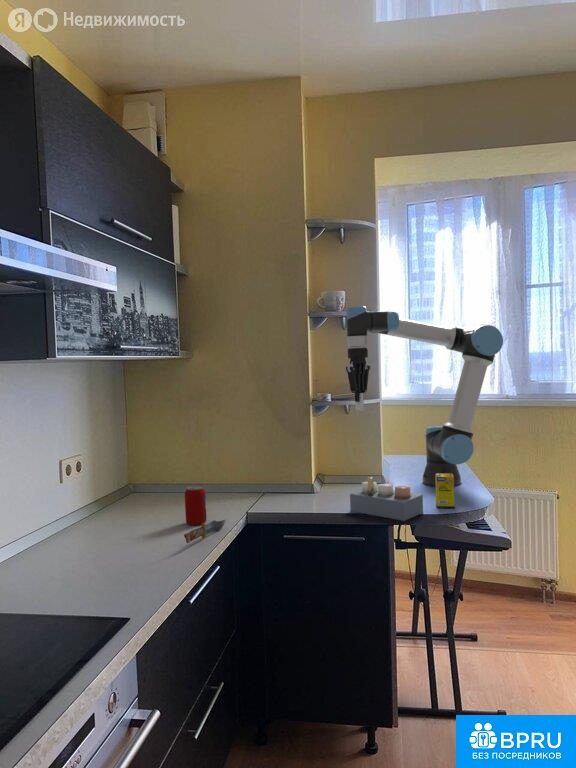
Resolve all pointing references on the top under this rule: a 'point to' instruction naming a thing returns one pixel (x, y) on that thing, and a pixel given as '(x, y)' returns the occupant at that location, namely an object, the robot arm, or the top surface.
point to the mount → (387, 505)
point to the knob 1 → (365, 487)
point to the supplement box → (444, 491)
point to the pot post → (370, 486)
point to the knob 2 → (385, 489)
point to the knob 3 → (402, 492)
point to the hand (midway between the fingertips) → (359, 410)
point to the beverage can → (195, 505)
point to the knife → (204, 530)
